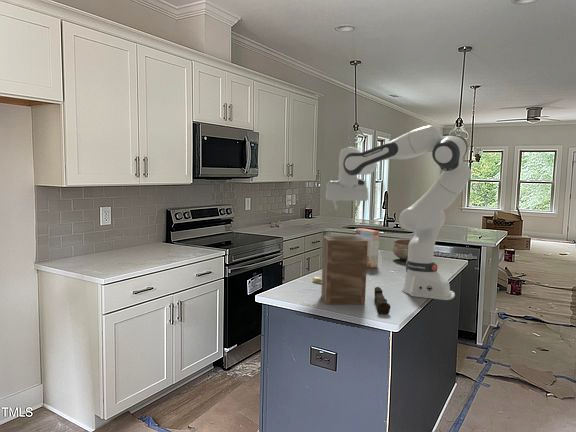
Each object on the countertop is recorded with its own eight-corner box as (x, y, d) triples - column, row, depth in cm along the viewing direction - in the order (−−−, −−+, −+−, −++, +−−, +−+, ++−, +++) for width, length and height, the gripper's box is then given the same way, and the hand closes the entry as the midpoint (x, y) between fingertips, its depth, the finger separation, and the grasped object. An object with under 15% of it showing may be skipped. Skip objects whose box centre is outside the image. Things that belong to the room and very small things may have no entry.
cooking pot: (395, 255, 289) (396, 237, 288) (426, 258, 281) (427, 239, 280) (388, 262, 266) (389, 242, 265) (420, 265, 259) (422, 245, 257)
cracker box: (378, 267, 252) (380, 230, 250) (370, 268, 248) (372, 231, 246) (361, 262, 263) (363, 227, 261) (353, 263, 260) (355, 228, 258)
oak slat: (312, 282, 215) (312, 277, 215) (316, 281, 217) (316, 276, 217) (348, 290, 203) (349, 285, 203) (352, 288, 205) (352, 283, 205)
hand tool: (390, 315, 168) (390, 301, 167) (377, 314, 169) (378, 300, 168) (384, 298, 190) (385, 286, 190) (372, 298, 191) (373, 285, 190)
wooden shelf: (321, 295, 191) (323, 236, 189) (357, 295, 193) (360, 236, 190) (325, 304, 179) (328, 240, 177) (364, 304, 181) (367, 241, 178)
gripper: (327, 180, 209) (326, 210, 210) (369, 181, 211) (368, 210, 212) (324, 180, 215) (323, 208, 216) (366, 181, 217) (365, 209, 218)
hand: (346, 209), depth 214 cm, fingers open, 8 cm apart
